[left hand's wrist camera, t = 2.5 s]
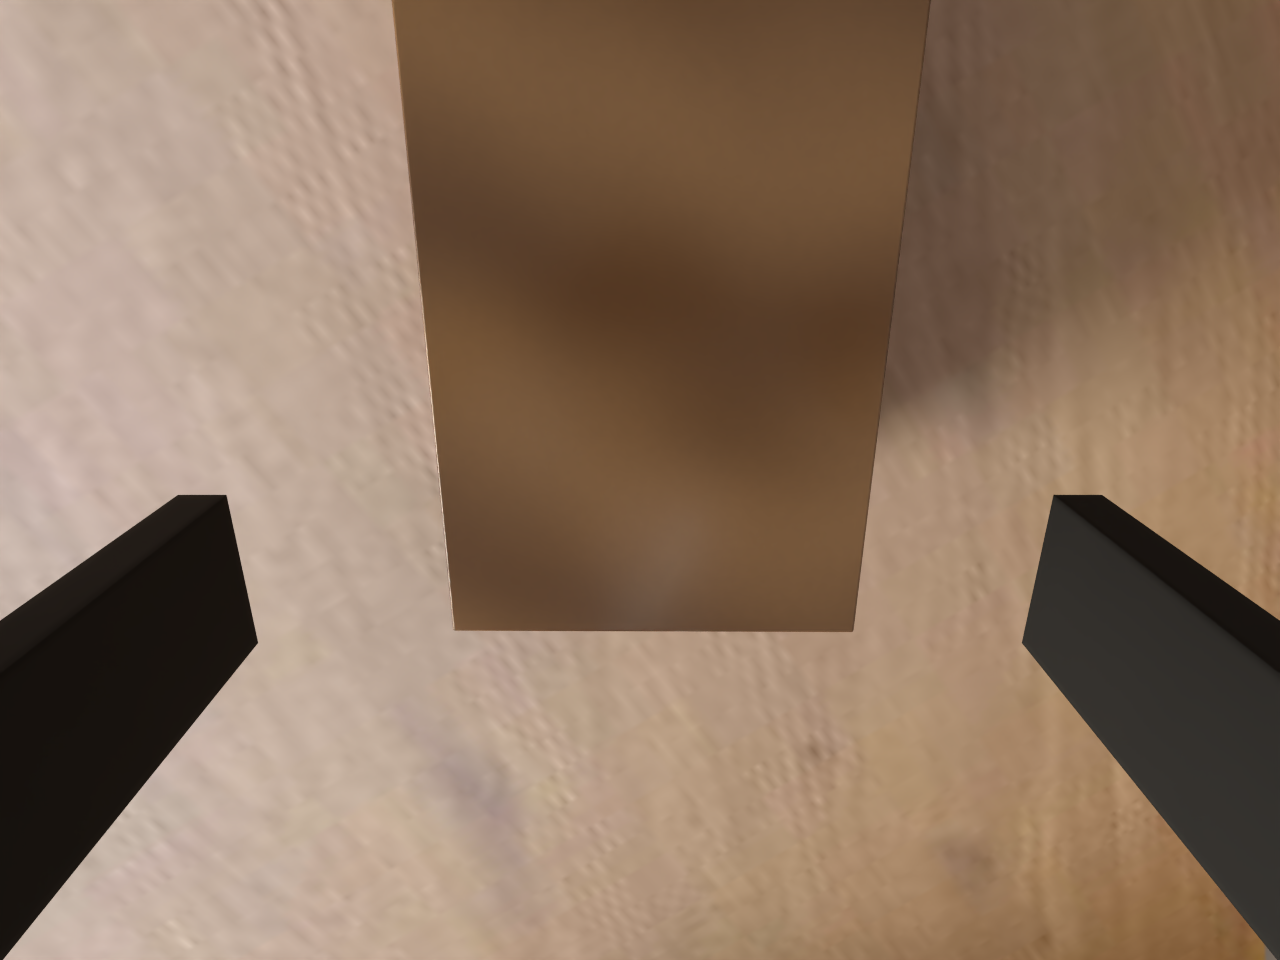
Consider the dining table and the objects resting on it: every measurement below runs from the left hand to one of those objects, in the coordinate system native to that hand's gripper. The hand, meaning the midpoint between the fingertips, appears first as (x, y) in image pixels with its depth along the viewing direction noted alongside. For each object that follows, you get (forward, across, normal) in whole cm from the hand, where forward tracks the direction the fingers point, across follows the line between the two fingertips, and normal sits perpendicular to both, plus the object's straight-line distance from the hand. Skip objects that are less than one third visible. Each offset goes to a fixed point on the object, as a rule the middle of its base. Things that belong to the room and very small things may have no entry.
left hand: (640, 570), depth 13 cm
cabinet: (+17, 0, -4) cm, 18 cm away
